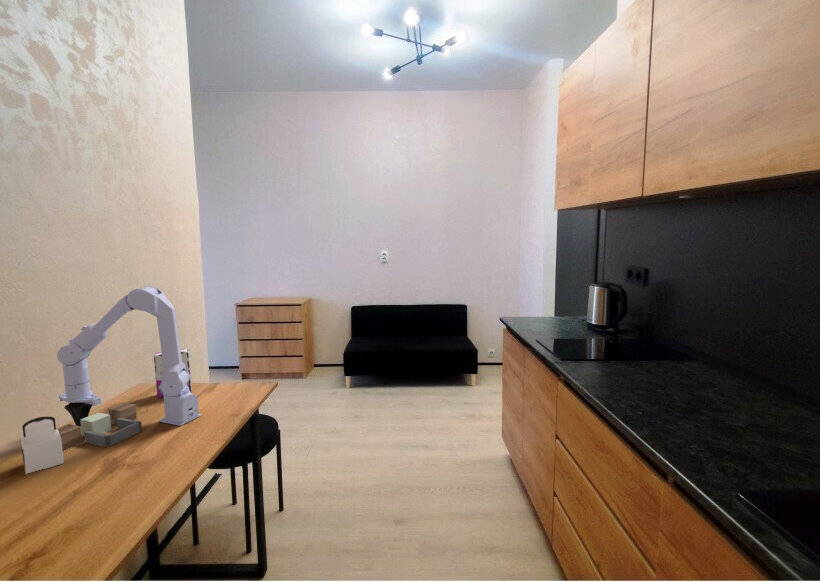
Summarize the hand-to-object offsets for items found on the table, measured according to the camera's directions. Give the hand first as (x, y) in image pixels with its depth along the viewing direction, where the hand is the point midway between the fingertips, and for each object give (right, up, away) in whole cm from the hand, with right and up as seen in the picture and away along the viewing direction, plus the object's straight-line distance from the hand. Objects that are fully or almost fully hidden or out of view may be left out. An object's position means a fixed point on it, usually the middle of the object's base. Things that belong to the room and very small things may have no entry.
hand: (81, 425), depth 119 cm
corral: (+13, -2, -4) cm, 14 cm away
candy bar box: (+11, +2, +29) cm, 31 cm away
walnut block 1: (+4, -3, -9) cm, 10 cm away
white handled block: (+6, -4, -18) cm, 20 cm away
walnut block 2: (+9, -1, +6) cm, 10 cm away
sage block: (+6, -2, -2) cm, 7 cm away
